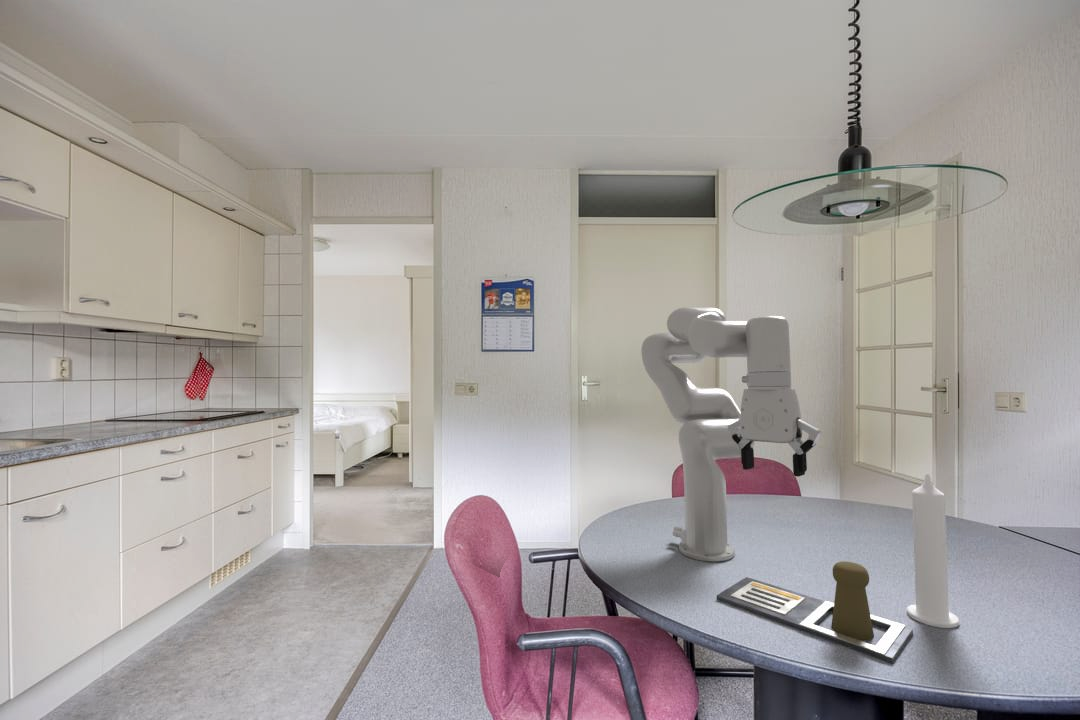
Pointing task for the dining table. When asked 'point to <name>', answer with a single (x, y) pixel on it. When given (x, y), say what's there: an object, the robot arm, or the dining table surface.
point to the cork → (851, 602)
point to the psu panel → (811, 616)
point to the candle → (930, 558)
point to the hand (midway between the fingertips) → (773, 471)
